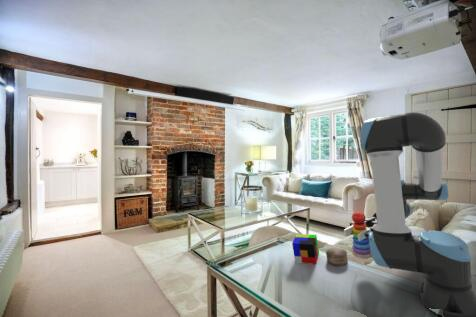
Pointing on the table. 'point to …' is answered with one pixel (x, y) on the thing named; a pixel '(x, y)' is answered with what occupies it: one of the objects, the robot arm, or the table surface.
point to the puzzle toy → (305, 248)
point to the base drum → (337, 256)
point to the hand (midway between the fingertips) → (351, 235)
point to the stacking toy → (359, 247)
